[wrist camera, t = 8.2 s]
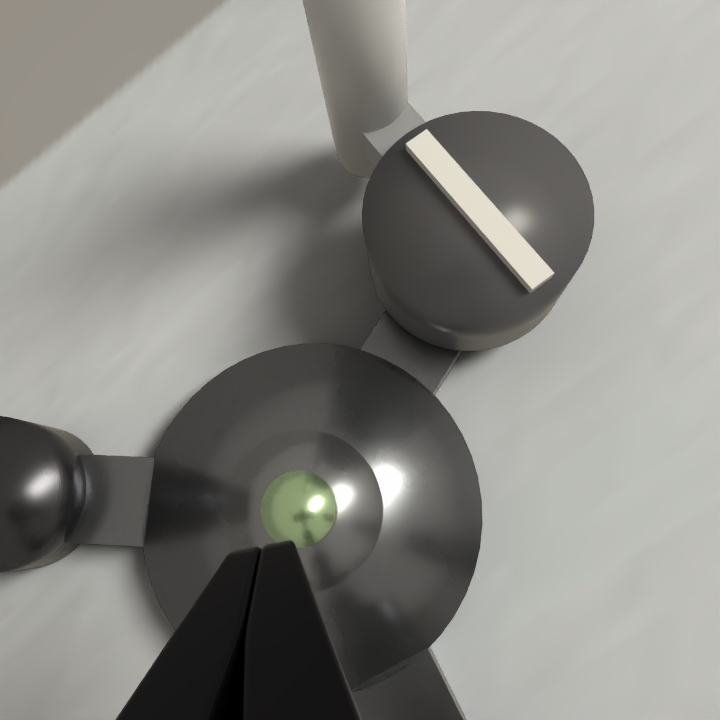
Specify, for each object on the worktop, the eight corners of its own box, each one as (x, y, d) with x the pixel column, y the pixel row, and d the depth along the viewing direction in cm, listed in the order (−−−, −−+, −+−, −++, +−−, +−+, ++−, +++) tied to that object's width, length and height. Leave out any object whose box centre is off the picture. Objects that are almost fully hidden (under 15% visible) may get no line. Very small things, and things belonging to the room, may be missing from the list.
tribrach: (474, 972, 16) (486, 1059, 13) (-57, 513, 20) (-125, 513, 17) (798, 397, 18) (858, 378, 16) (271, 98, 23) (253, 46, 20)
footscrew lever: (608, 273, 19) (846, -22, 8) (449, 390, 18) (492, 231, 8) (419, 67, 21) (422, -363, 11) (274, 166, 20) (130, -182, 10)
